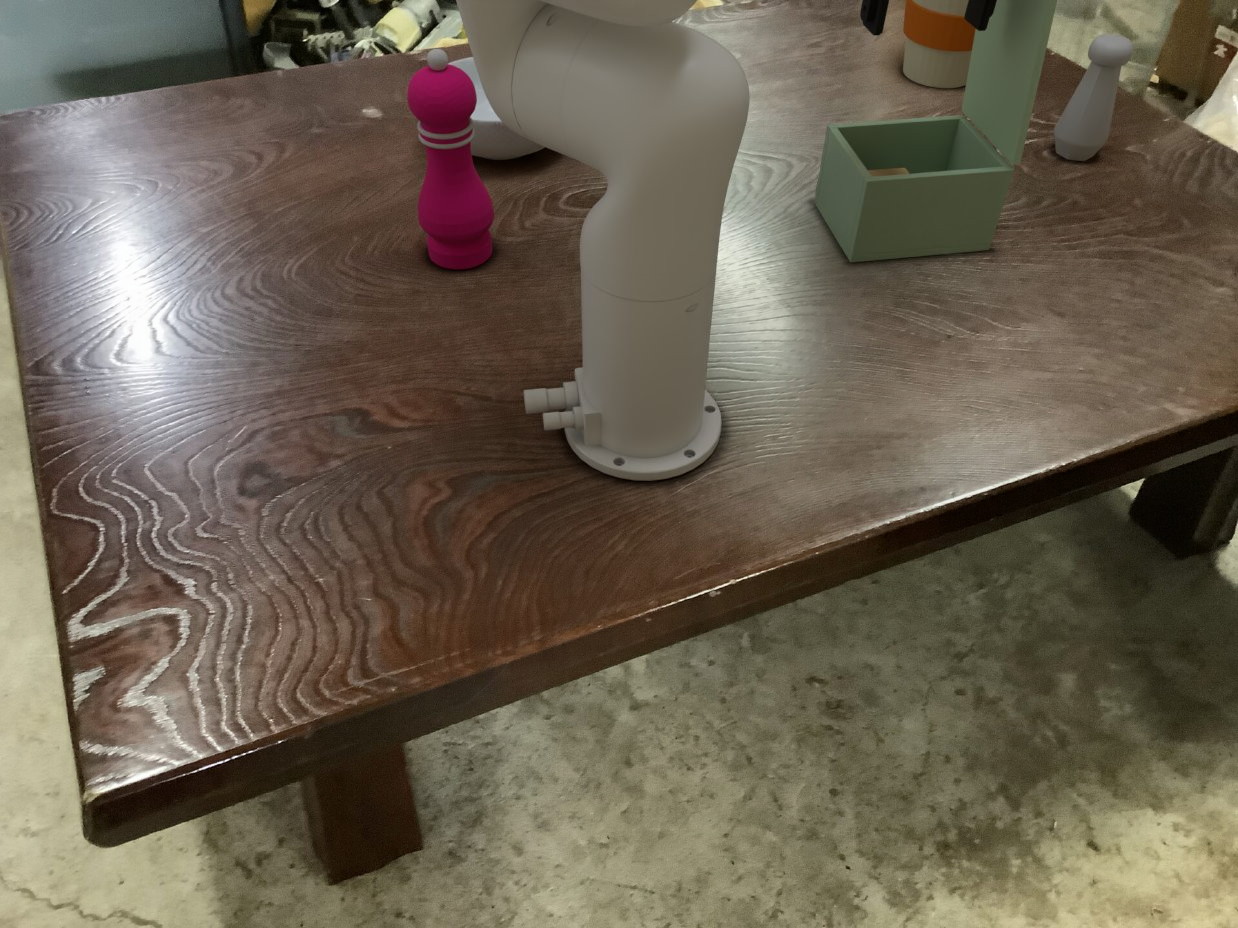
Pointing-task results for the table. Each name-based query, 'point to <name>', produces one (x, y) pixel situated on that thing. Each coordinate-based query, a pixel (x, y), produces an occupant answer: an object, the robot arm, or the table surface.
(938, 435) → the table surface
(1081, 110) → the salt shaker
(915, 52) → the reusable coffee cup
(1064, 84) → the table surface
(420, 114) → the pepper mill
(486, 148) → the cereal bowl
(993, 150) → the chest
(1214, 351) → the table surface
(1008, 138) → the lid
